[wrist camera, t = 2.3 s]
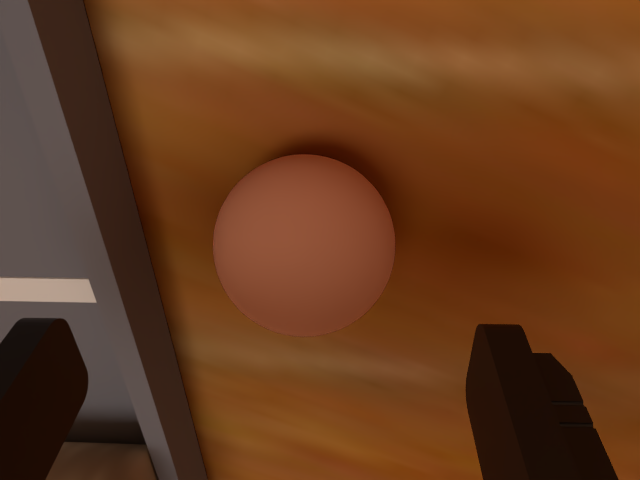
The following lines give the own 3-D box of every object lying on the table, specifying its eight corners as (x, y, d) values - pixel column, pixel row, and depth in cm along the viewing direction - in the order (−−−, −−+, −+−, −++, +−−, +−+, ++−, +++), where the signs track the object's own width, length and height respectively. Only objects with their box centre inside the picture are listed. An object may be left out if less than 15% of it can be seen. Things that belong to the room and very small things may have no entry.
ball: (394, 124, 15) (408, 216, 11) (387, 264, 17) (395, 379, 13) (222, 125, 15) (173, 215, 11) (242, 262, 18) (208, 374, 14)
